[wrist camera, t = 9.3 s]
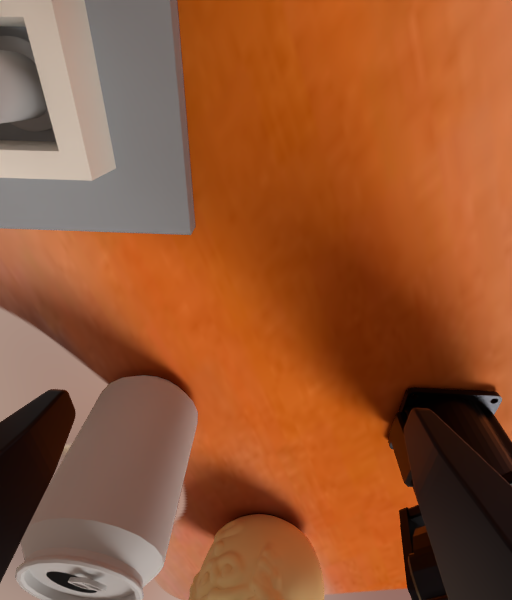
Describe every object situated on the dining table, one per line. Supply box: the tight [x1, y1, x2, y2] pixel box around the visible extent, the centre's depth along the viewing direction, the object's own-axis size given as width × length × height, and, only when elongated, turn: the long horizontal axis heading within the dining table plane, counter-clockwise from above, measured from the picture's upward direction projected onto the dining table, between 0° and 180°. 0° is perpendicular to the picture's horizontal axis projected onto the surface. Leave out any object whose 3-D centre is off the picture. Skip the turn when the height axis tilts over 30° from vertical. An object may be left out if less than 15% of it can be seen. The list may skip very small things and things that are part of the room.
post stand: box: [0, 0, 195, 235], centre depth 14 cm, size 13×13×5 cm
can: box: [15, 375, 198, 600], centre depth 22 cm, size 8×8×12 cm
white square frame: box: [0, 0, 116, 181], centre depth 14 cm, size 6×6×2 cm
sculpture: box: [189, 514, 324, 600], centre depth 32 cm, size 11×12×11 cm
